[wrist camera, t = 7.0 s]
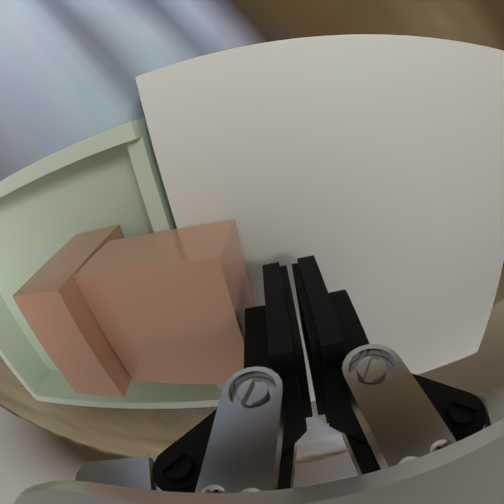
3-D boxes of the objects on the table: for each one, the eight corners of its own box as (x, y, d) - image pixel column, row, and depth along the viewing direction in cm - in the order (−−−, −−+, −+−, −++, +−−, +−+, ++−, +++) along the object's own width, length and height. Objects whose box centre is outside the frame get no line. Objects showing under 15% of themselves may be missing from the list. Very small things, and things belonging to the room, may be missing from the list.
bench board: (471, 53, 9) (505, 51, 7) (459, 326, 16) (477, 352, 14) (157, 81, 10) (135, 76, 8) (246, 377, 17) (245, 410, 15)
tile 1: (57, 290, 8) (12, 296, 8) (124, 397, 10) (77, 393, 10) (119, 224, 12) (76, 234, 12) (156, 317, 14) (115, 320, 15)
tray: (158, 115, 11) (130, 120, 8) (235, 362, 17) (233, 404, 14) (-37, 208, 12) (-68, 228, 9) (52, 371, 18) (36, 400, 15)
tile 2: (234, 219, 10) (218, 257, 8) (262, 335, 12) (256, 383, 10) (108, 240, 11) (73, 275, 9) (153, 339, 13) (133, 381, 11)
